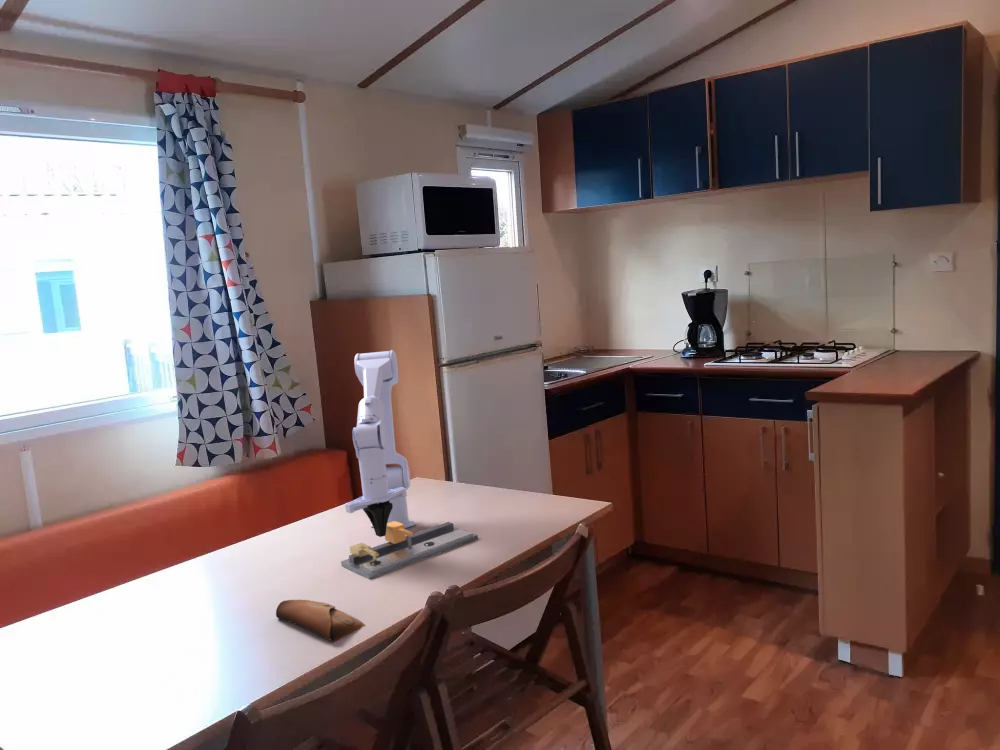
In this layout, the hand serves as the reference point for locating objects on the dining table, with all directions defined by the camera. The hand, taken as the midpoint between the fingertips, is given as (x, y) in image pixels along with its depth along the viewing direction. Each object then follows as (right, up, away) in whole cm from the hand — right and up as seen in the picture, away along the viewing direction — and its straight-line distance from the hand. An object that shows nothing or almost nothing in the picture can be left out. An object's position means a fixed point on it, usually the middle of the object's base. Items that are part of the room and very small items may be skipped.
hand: (380, 535), depth 178 cm
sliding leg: (+5, -2, +1) cm, 5 cm away
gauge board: (+7, -4, +2) cm, 8 cm away
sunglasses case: (-6, -11, -31) cm, 33 cm away
